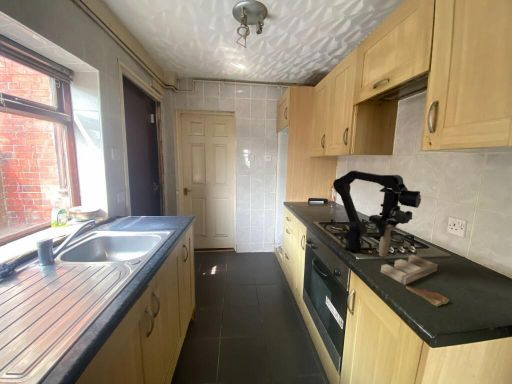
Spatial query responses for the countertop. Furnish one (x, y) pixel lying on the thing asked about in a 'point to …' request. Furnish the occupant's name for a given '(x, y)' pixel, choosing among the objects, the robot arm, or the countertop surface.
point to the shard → (429, 296)
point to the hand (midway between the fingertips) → (385, 235)
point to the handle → (385, 241)
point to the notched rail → (409, 269)
